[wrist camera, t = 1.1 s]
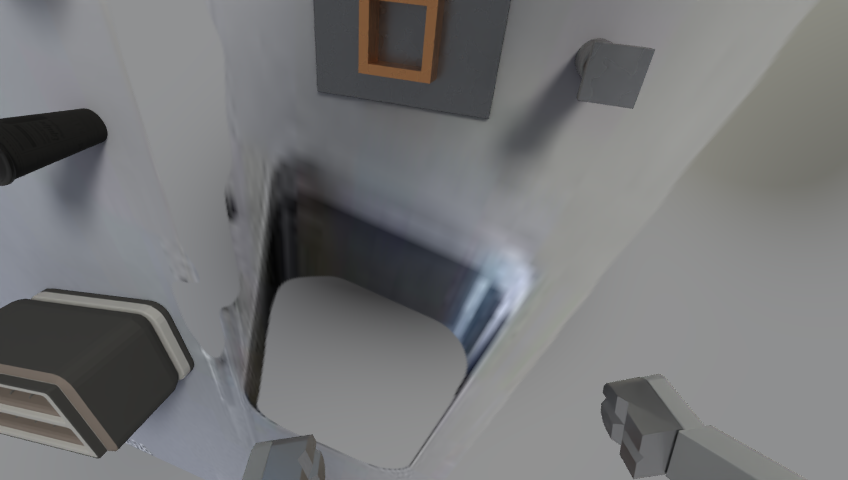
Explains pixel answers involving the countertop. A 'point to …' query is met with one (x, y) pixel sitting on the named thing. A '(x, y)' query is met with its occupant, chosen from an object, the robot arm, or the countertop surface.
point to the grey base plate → (412, 51)
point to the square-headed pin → (611, 72)
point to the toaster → (85, 368)
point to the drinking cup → (45, 140)
